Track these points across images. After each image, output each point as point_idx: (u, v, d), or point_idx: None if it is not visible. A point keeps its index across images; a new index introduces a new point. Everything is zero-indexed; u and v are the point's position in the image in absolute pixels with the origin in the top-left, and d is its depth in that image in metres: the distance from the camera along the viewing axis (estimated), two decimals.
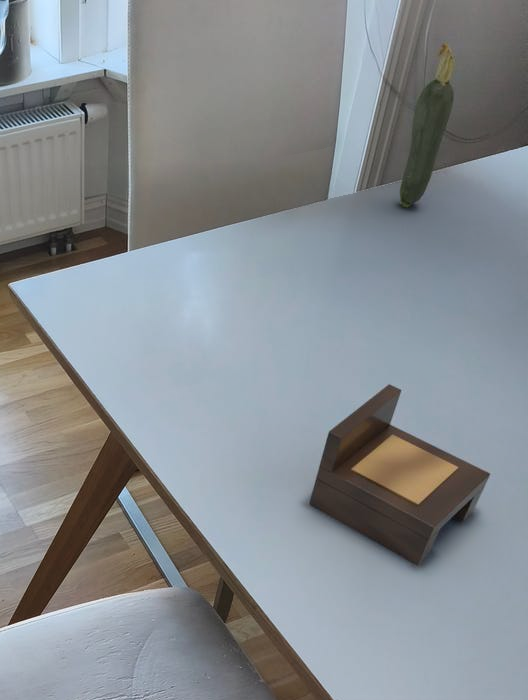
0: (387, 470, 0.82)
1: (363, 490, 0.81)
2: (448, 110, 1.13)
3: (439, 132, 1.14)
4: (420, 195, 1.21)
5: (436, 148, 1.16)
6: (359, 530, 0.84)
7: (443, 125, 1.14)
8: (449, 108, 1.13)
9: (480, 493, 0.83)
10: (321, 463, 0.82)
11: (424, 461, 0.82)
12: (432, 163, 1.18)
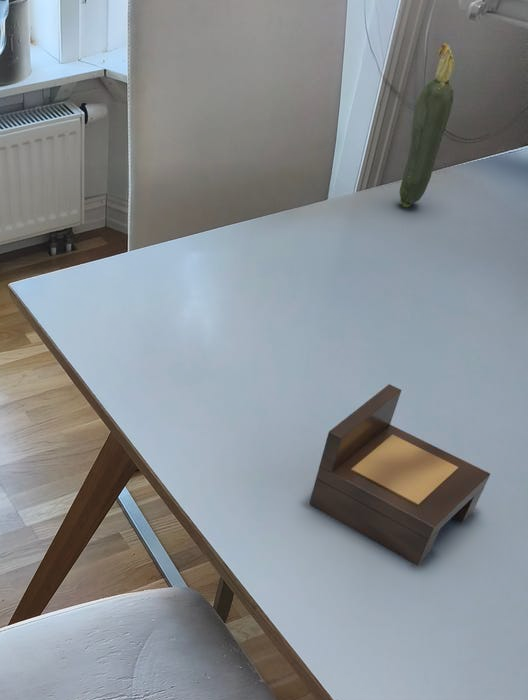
0: (387, 470, 0.82)
1: (363, 490, 0.81)
2: (448, 110, 1.13)
3: (439, 132, 1.14)
4: (420, 195, 1.21)
5: (436, 148, 1.16)
6: (359, 530, 0.84)
7: (443, 125, 1.14)
8: (449, 108, 1.13)
9: (480, 493, 0.83)
10: (321, 463, 0.82)
11: (424, 461, 0.82)
12: (432, 163, 1.18)
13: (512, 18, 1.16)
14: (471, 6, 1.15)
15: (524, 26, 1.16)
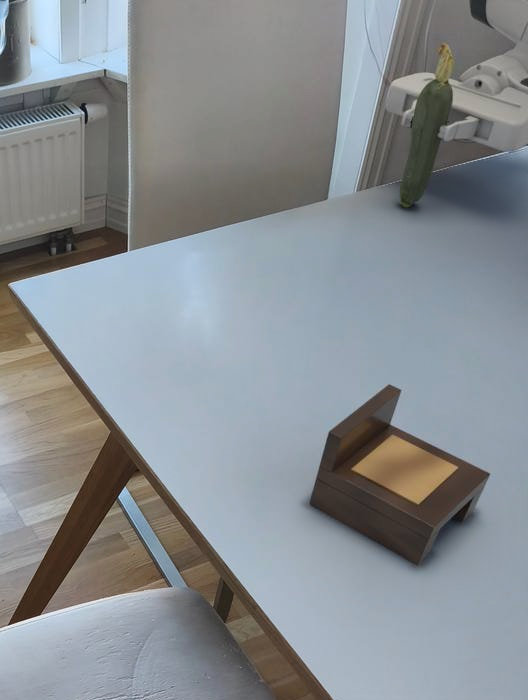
0: (387, 470, 0.82)
1: (363, 490, 0.81)
2: (447, 110, 1.13)
3: None
4: (420, 195, 1.21)
5: (436, 148, 1.16)
6: (359, 530, 0.84)
7: None
8: (448, 108, 1.13)
9: (480, 493, 0.83)
10: (321, 463, 0.82)
11: (424, 461, 0.82)
12: (432, 163, 1.18)
13: None
14: (405, 114, 1.16)
15: None
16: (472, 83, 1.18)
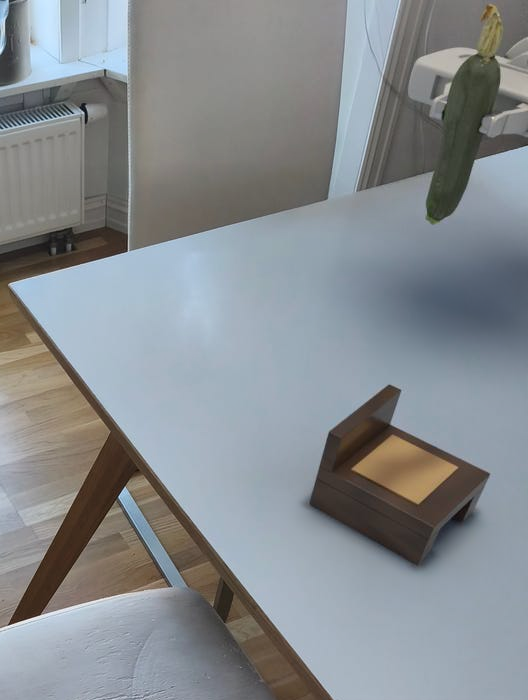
0: (387, 470, 0.82)
1: (363, 490, 0.81)
2: (493, 95, 0.84)
3: (480, 125, 0.85)
4: (453, 208, 0.92)
5: (476, 146, 0.87)
6: (359, 530, 0.84)
7: None
8: (494, 92, 0.84)
9: (480, 493, 0.83)
10: (321, 463, 0.82)
11: (424, 461, 0.82)
12: (470, 166, 0.89)
13: None
14: (435, 102, 0.87)
15: None
16: (524, 59, 0.89)
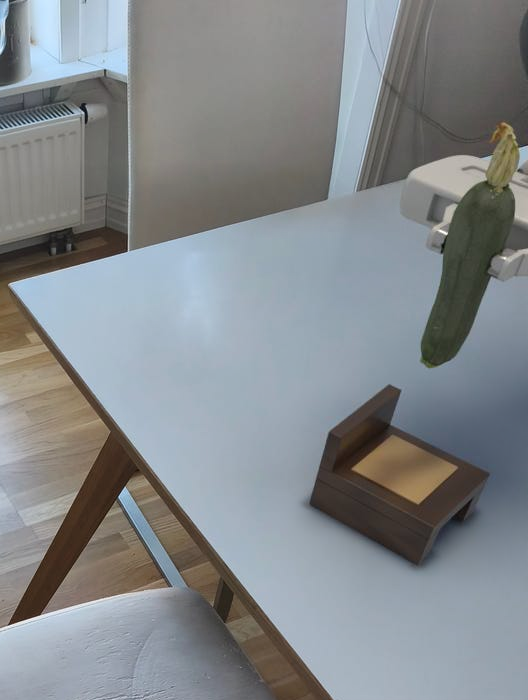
0: (387, 470, 0.82)
1: (363, 490, 0.81)
2: (506, 232, 0.67)
3: (489, 265, 0.68)
4: (454, 354, 0.75)
5: (483, 289, 0.70)
6: (359, 530, 0.84)
7: None
8: (508, 228, 0.67)
9: (480, 493, 0.83)
10: (321, 463, 0.82)
11: (424, 461, 0.82)
12: (475, 310, 0.72)
13: None
14: (433, 233, 0.70)
15: None
16: None
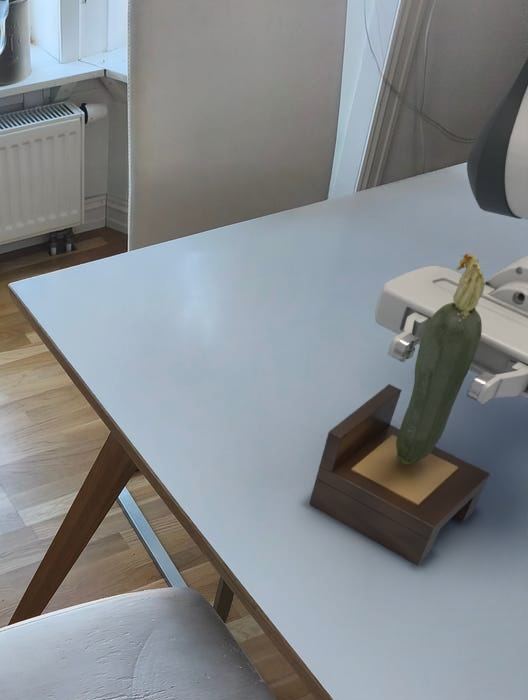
0: (387, 470, 0.82)
1: (363, 490, 0.81)
2: (473, 350, 0.71)
3: (458, 379, 0.72)
4: (427, 453, 0.79)
5: (453, 398, 0.74)
6: (359, 530, 0.84)
7: (465, 370, 0.72)
8: (475, 347, 0.70)
9: (480, 493, 0.83)
10: (321, 463, 0.82)
11: (424, 461, 0.82)
12: (446, 416, 0.76)
13: None
14: (394, 343, 0.75)
15: None
16: (509, 294, 0.76)
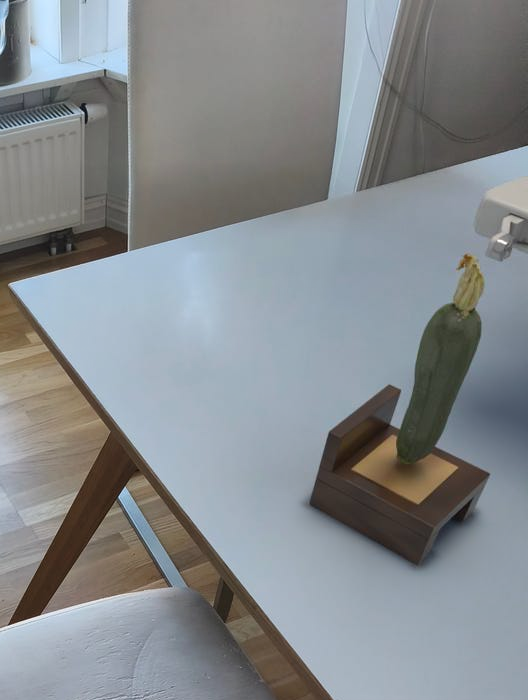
0: (387, 470, 0.82)
1: (363, 490, 0.81)
2: (473, 350, 0.71)
3: (458, 379, 0.72)
4: (427, 453, 0.79)
5: (453, 398, 0.74)
6: (359, 530, 0.84)
7: (464, 370, 0.72)
8: (474, 347, 0.70)
9: (480, 493, 0.83)
10: (321, 463, 0.82)
11: (424, 461, 0.82)
12: (446, 416, 0.76)
13: None
14: (493, 242, 0.77)
15: None
16: None
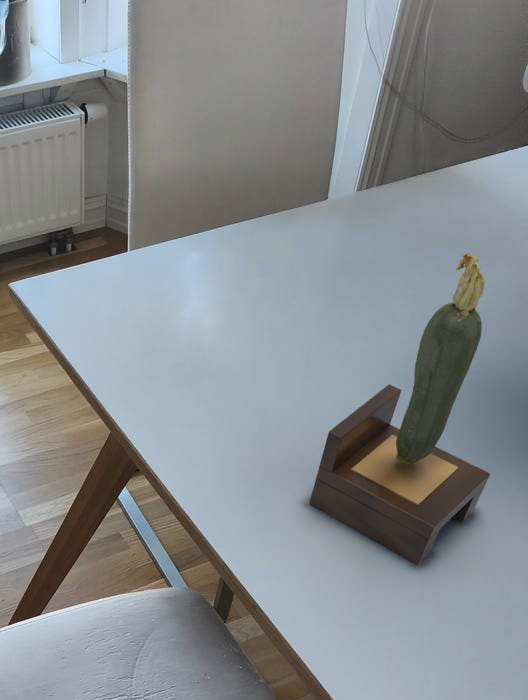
0: (387, 470, 0.82)
1: (363, 490, 0.81)
2: (473, 350, 0.71)
3: (458, 379, 0.72)
4: (427, 453, 0.79)
5: (453, 398, 0.74)
6: (359, 530, 0.84)
7: (464, 370, 0.72)
8: (474, 347, 0.70)
9: (480, 493, 0.83)
10: (321, 463, 0.82)
11: (424, 461, 0.82)
12: (446, 416, 0.76)
13: None
14: None
15: None
16: None
